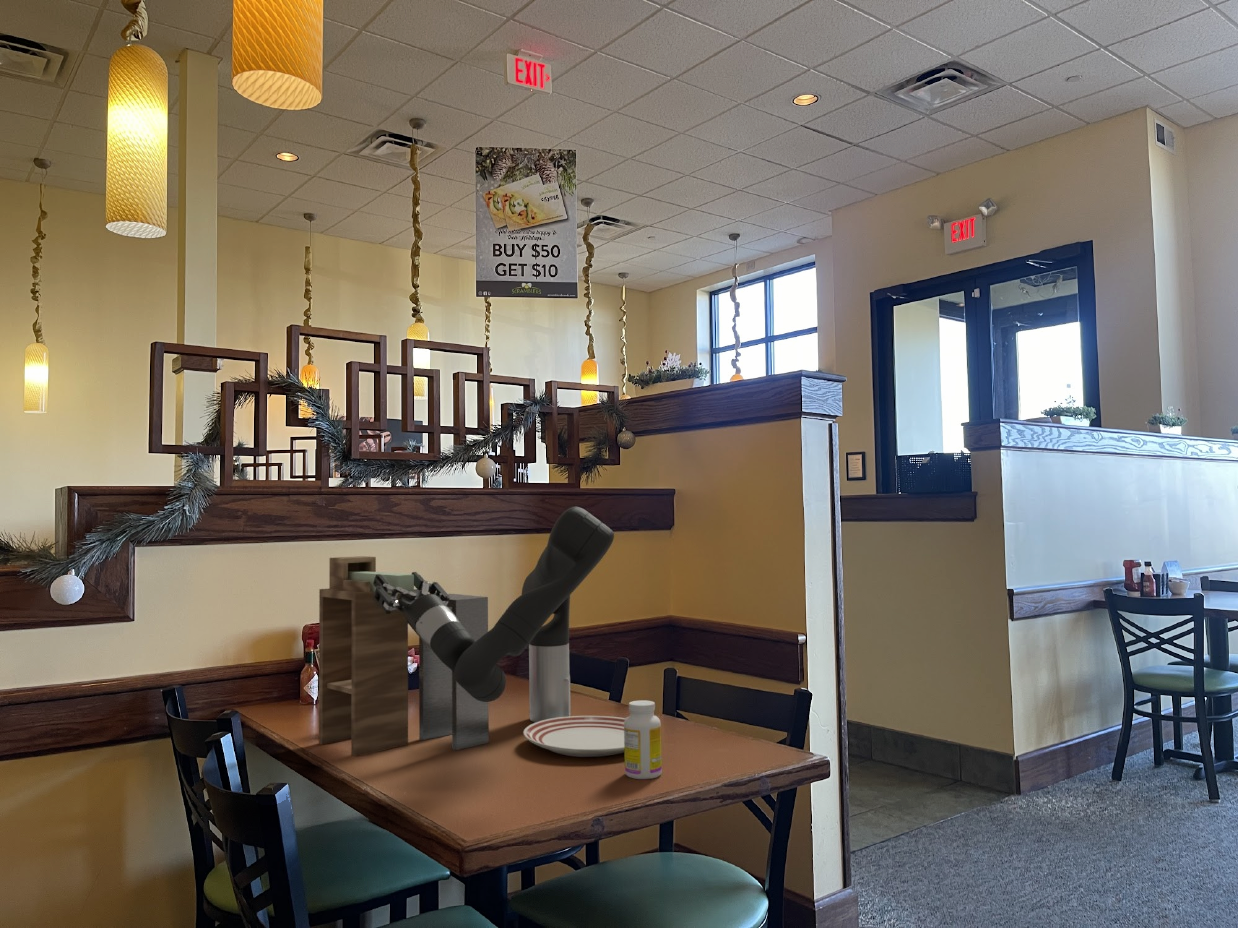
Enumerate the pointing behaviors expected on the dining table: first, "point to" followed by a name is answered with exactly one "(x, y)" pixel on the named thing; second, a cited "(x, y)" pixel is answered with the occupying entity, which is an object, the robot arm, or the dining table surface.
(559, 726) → the dinner plate
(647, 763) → the supplement bottle
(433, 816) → the dining table surface
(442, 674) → the side stand
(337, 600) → the tunnel stand
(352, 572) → the bar
